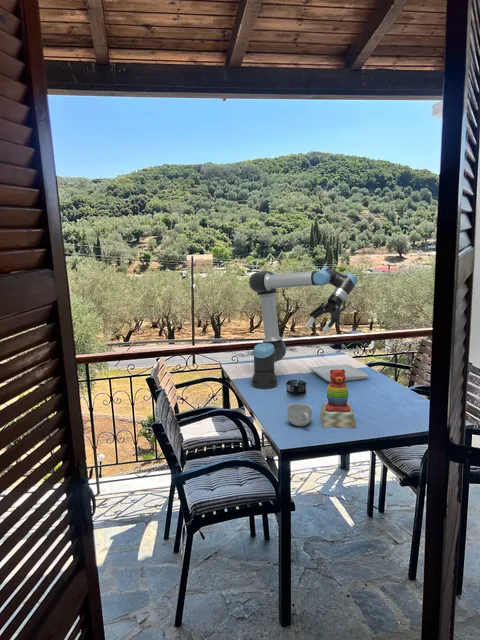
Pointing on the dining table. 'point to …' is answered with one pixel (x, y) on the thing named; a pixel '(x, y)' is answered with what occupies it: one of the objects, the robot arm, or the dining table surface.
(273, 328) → the robot arm
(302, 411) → the teacup
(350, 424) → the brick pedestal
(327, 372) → the square plate
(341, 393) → the stacking bear
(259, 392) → the dining table surface
